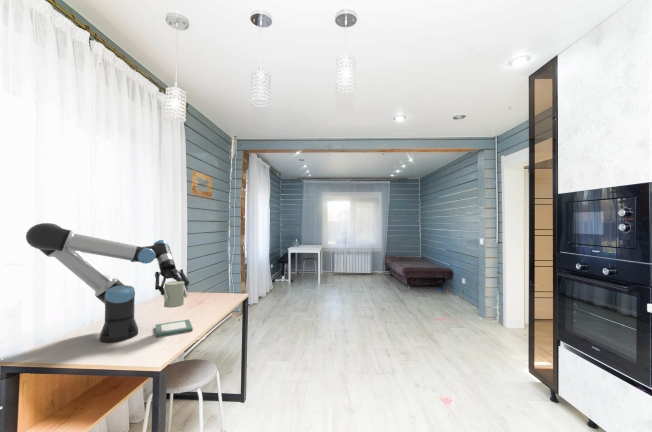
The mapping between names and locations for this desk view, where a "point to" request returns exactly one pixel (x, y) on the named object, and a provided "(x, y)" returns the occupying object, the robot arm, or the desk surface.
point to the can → (174, 294)
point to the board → (173, 328)
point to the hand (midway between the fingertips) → (176, 297)
